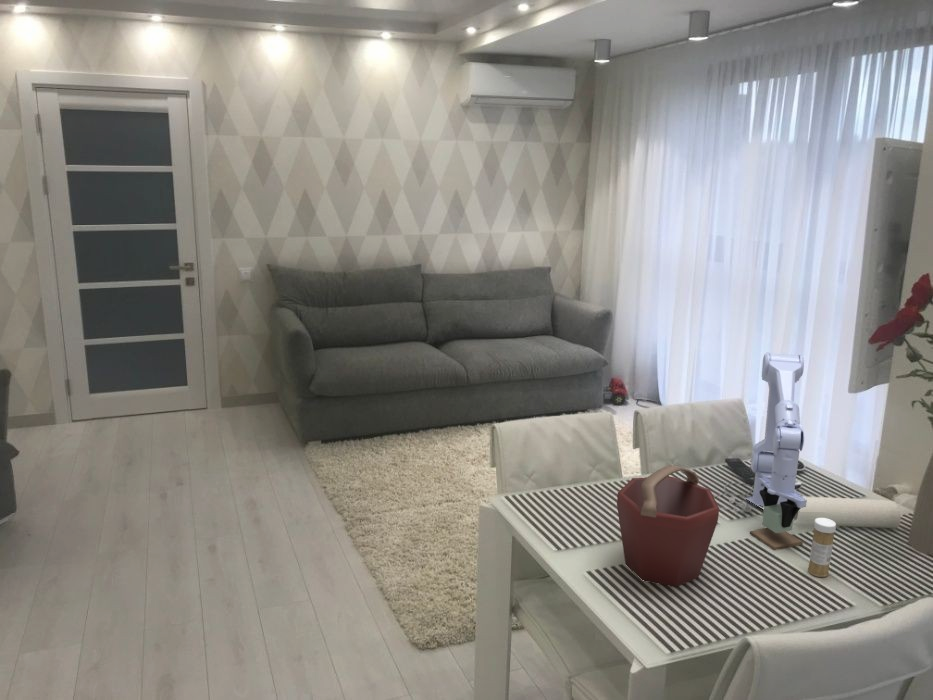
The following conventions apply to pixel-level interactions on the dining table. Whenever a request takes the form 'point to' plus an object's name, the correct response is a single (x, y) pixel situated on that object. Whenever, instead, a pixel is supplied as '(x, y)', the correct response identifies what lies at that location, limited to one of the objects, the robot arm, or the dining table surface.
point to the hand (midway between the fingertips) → (777, 521)
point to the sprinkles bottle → (821, 547)
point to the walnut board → (776, 538)
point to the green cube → (774, 519)
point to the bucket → (666, 526)
